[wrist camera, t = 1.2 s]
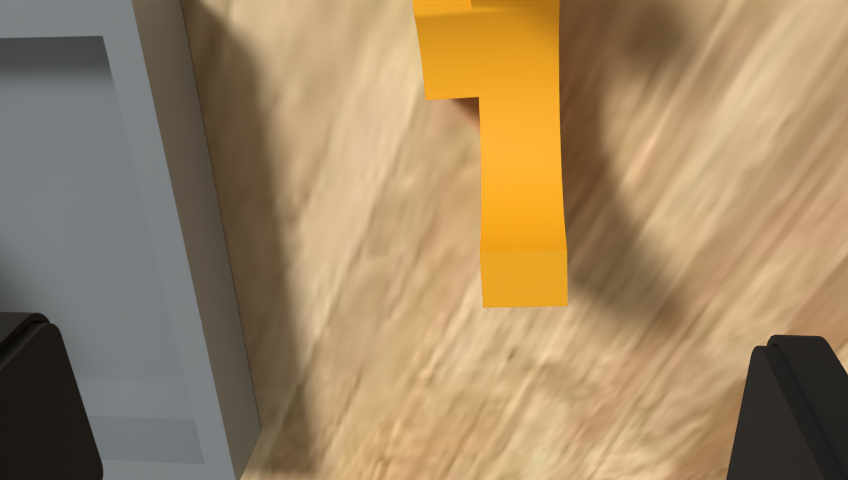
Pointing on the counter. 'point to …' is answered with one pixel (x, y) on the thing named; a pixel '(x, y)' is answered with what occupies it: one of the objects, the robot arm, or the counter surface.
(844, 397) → the robot arm
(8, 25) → the tray
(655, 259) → the counter surface
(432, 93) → the orange toy block
